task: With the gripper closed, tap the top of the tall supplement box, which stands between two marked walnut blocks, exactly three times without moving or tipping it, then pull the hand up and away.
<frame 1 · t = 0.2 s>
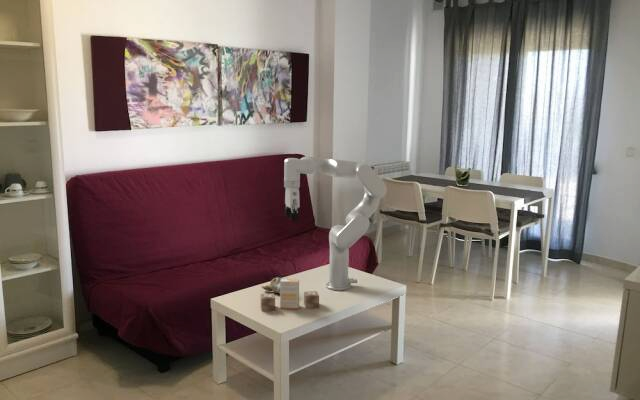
hand: (291, 218, 264), 36 cm above the table, fingers open, 9 cm apart
walnut block 1: (267, 308, 246), on the table
walnut block 2: (311, 306, 250), on the table
ceramic sculpture: (278, 293, 267), on the table
supplement box: (289, 307, 248), on the table
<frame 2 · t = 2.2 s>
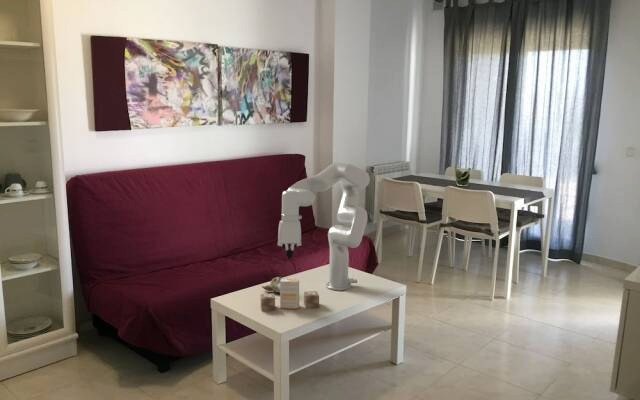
hand: (289, 258, 245), 23 cm above the table, fingers closed
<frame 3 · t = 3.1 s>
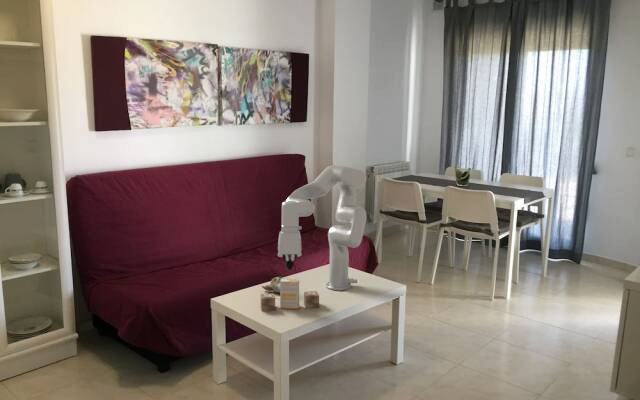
hand: (289, 268, 244), 18 cm above the table, fingers closed
nothing on the table moved.
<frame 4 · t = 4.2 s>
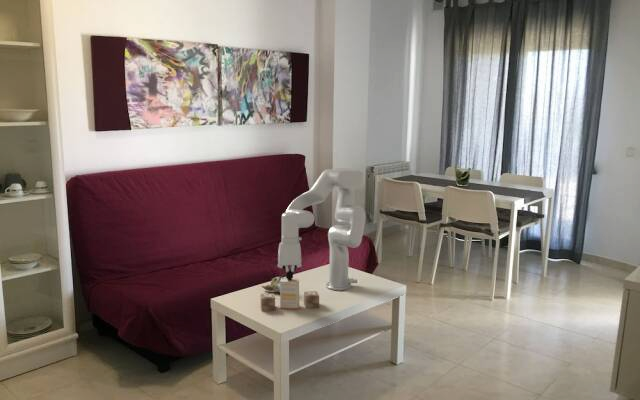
hand: (289, 279, 245), 13 cm above the table, fingers closed
supplement box: (289, 307, 248), on the table, touching gripper
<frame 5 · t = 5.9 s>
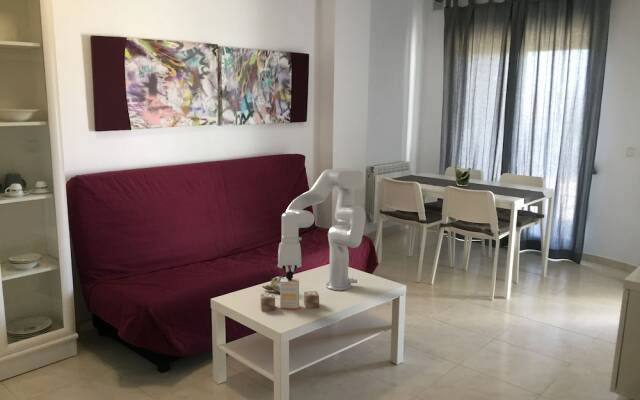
hand: (289, 279, 245), 13 cm above the table, fingers closed
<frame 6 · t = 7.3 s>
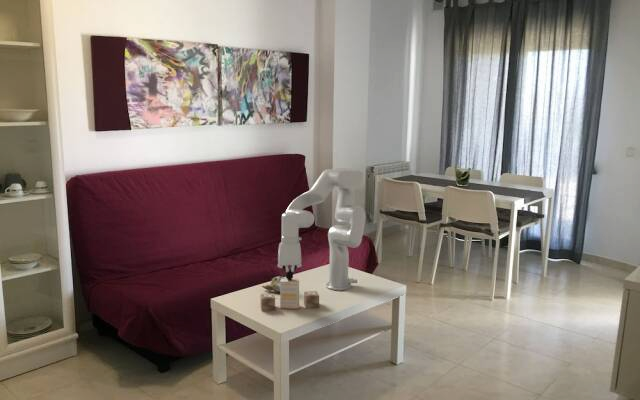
hand: (289, 279, 245), 13 cm above the table, fingers closed
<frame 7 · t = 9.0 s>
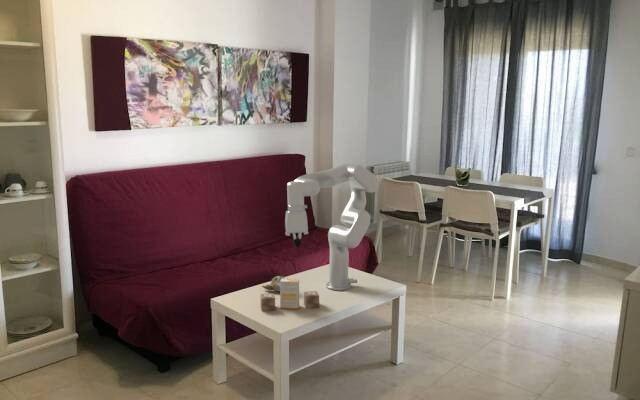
hand: (297, 246, 253), 26 cm above the table, fingers closed
supplement box: (289, 307, 248), on the table
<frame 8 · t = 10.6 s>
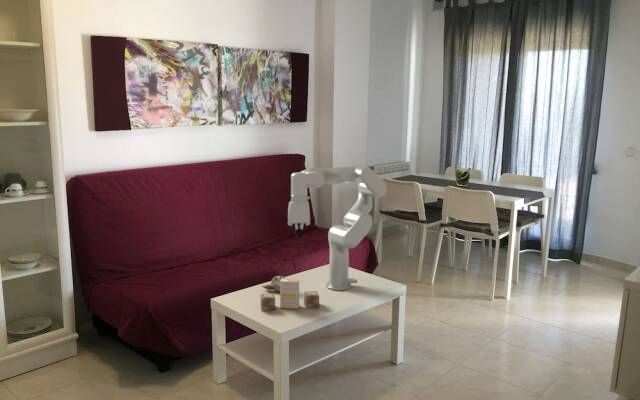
hand: (298, 237, 257), 29 cm above the table, fingers closed
at the end: supplement box moved 0.2 cm from its start; supplement box tilted 0°; walnut block 1 moved 0.1 cm from its start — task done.
